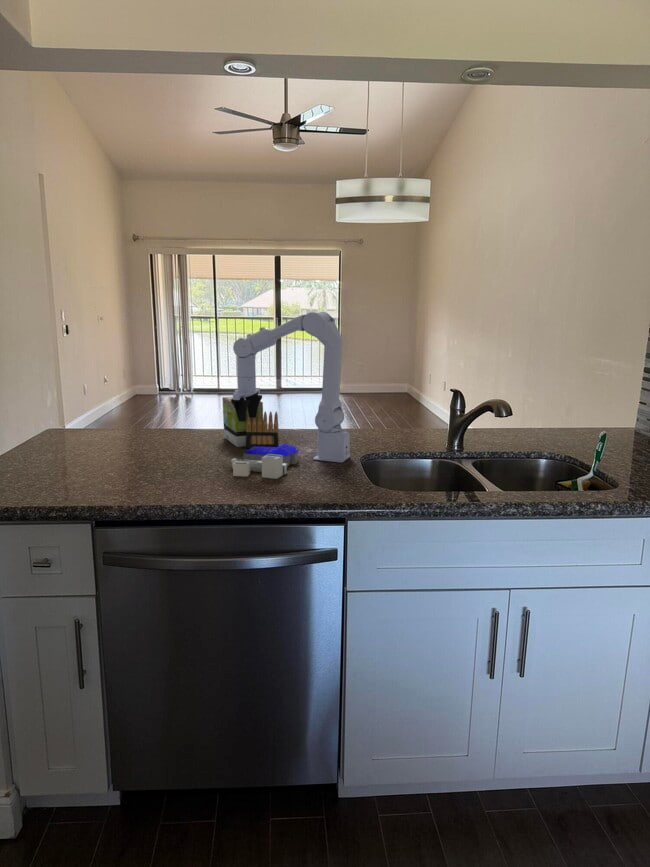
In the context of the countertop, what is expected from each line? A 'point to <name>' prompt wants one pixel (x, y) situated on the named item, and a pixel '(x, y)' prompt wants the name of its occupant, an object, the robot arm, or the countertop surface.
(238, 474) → the block
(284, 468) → the rail
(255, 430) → the ammunition clip
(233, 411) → the tea box
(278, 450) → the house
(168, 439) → the countertop surface
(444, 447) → the countertop surface
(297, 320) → the robot arm
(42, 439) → the countertop surface
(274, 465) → the block
